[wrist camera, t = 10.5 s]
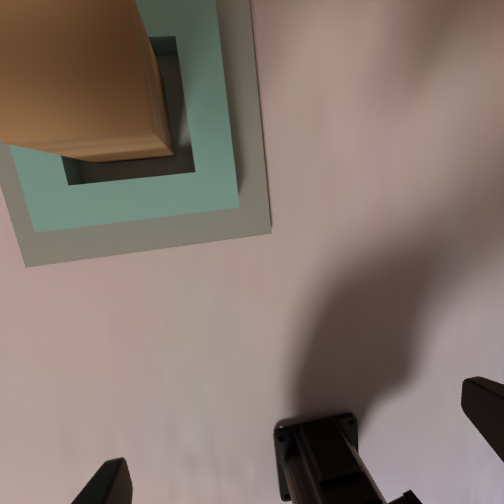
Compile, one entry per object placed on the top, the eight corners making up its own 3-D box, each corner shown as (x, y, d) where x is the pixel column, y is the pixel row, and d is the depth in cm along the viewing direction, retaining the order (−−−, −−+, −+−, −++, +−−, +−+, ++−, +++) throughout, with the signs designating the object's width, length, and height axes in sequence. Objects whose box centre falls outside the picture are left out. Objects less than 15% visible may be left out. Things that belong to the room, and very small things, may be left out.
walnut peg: (175, 156, 16) (151, 130, 9) (99, 163, 16) (1, 142, 8) (162, 76, 15) (122, -34, 8) (81, 81, 15) (-50, -32, 7)
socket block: (269, 232, 19) (279, 239, 16) (30, 265, 17) (1, 278, 14) (244, -32, 15) (252, -72, 13) (-57, -28, 13) (-114, -74, 11)
